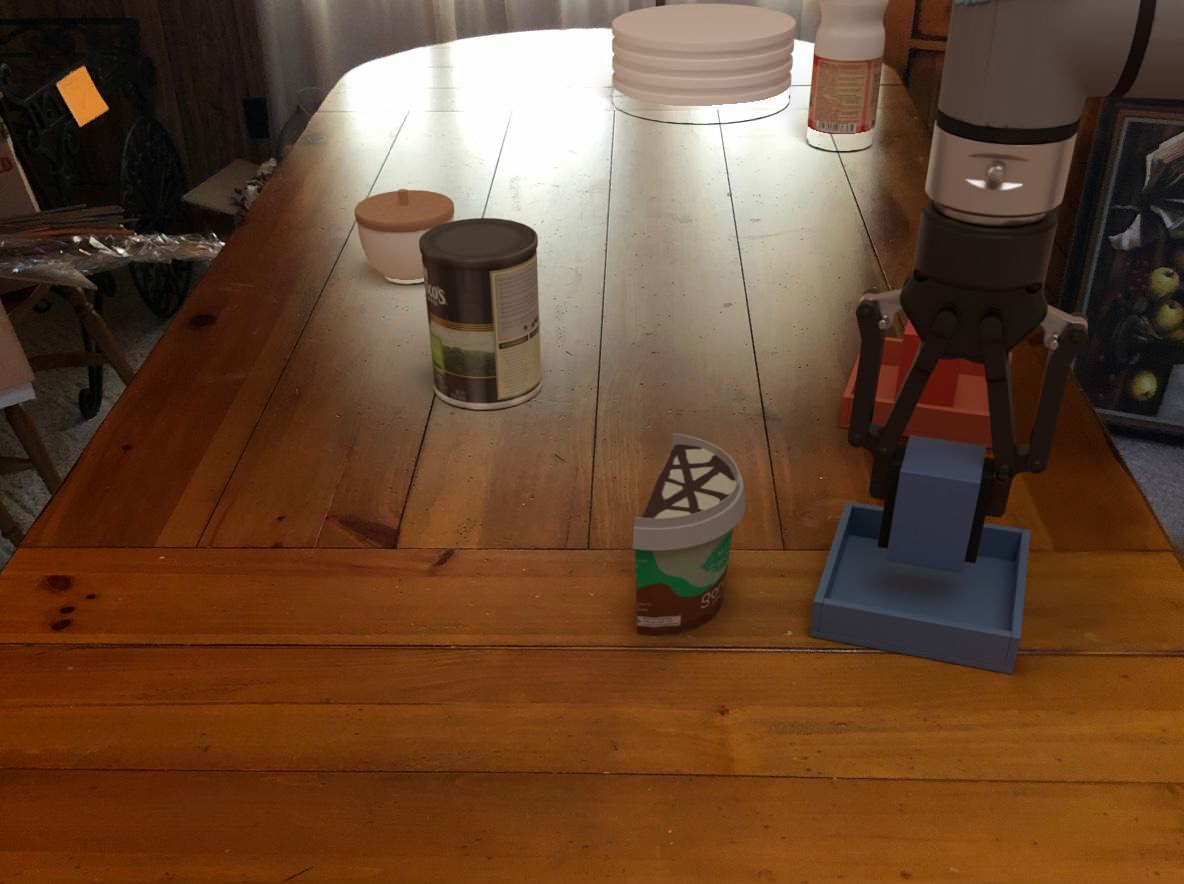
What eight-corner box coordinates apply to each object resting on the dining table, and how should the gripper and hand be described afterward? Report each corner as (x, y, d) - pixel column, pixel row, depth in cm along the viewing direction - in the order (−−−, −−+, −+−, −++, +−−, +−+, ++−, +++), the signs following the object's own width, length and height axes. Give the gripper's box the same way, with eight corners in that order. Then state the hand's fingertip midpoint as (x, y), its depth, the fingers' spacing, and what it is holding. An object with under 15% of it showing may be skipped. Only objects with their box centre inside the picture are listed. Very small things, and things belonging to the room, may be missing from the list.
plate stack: (824, 95, 194) (831, 17, 187) (718, 135, 178) (722, 51, 171) (685, 70, 209) (687, -4, 203) (576, 104, 193) (574, 25, 186)
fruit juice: (828, 156, 168) (850, -73, 152) (793, 139, 175) (811, -82, 159) (886, 148, 171) (914, -79, 155) (849, 131, 178) (872, -87, 162)
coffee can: (443, 417, 109) (428, 265, 101) (426, 369, 117) (411, 224, 109) (555, 402, 111) (549, 251, 102) (531, 355, 119) (524, 212, 111)
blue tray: (1022, 564, 89) (1030, 529, 87) (1012, 674, 79) (1021, 638, 77) (841, 534, 93) (845, 500, 91) (809, 636, 83) (813, 601, 81)
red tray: (1006, 381, 112) (1012, 351, 111) (996, 449, 102) (1002, 417, 101) (862, 363, 116) (865, 334, 114) (838, 427, 106) (842, 396, 104)
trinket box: (345, 272, 137) (333, 189, 132) (425, 250, 143) (418, 168, 137) (395, 301, 130) (385, 214, 125) (478, 276, 136) (471, 191, 130)
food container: (721, 661, 81) (730, 535, 75) (631, 646, 82) (632, 521, 76) (752, 559, 90) (762, 439, 84) (671, 547, 92) (674, 429, 86)
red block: (956, 390, 110) (969, 317, 106) (951, 415, 106) (964, 340, 102) (900, 382, 112) (911, 310, 107) (893, 407, 108) (903, 333, 104)
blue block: (968, 534, 84) (986, 445, 80) (962, 573, 81) (980, 482, 76) (895, 522, 86) (909, 434, 82) (885, 560, 82) (900, 470, 78)
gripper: (821, 209, 69) (786, 551, 83) (1163, 243, 64) (1065, 599, 78) (842, 170, 74) (806, 495, 88) (1159, 198, 70) (1068, 537, 83)
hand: (928, 543), depth 83 cm, fingers closed on blue block, 5 cm apart
